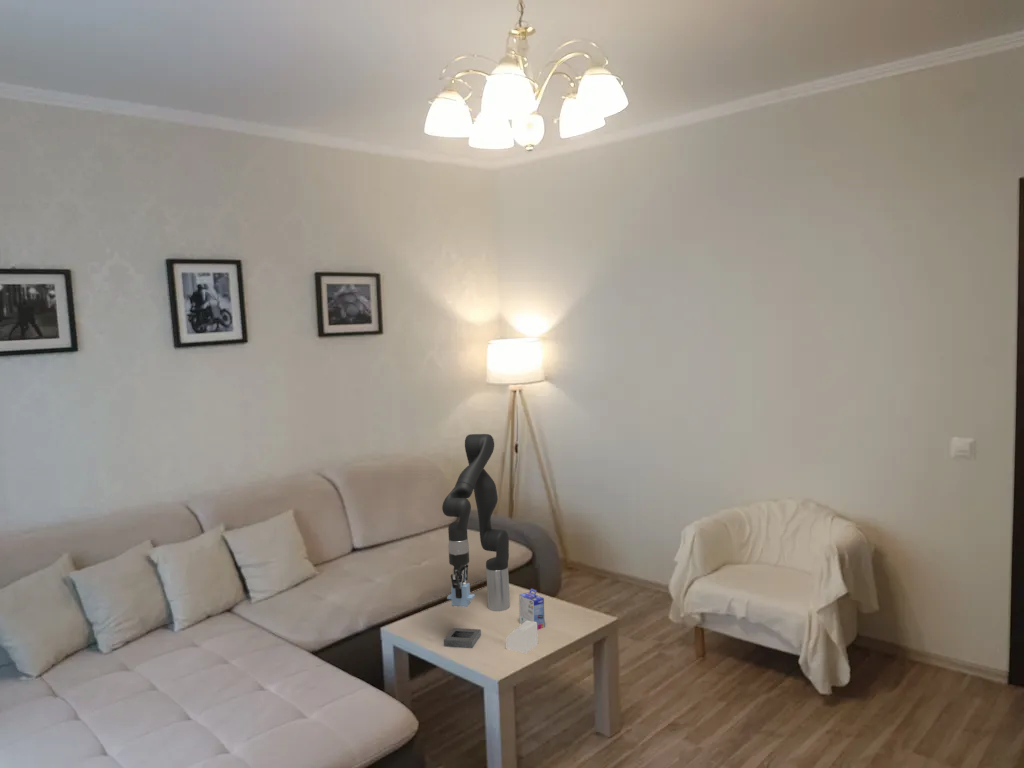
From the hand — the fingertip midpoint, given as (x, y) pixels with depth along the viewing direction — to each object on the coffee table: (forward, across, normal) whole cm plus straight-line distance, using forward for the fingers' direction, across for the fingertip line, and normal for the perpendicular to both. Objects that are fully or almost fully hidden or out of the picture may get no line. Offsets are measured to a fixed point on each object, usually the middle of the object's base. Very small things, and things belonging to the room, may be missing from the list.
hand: (460, 595), depth 266 cm
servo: (+3, 0, 0) cm, 3 cm away
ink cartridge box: (+18, -17, +23) cm, 34 cm away
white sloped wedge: (+18, -2, +24) cm, 30 cm away
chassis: (+17, 0, 0) cm, 17 cm away
